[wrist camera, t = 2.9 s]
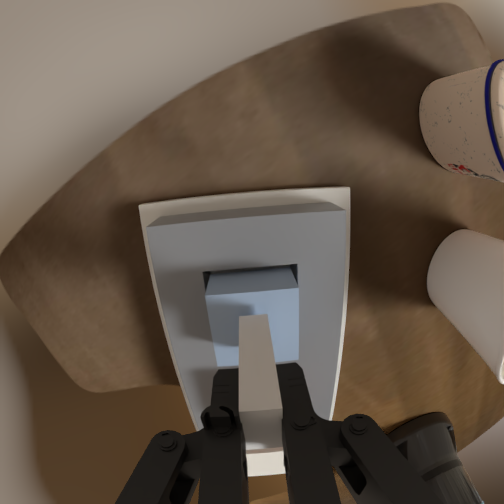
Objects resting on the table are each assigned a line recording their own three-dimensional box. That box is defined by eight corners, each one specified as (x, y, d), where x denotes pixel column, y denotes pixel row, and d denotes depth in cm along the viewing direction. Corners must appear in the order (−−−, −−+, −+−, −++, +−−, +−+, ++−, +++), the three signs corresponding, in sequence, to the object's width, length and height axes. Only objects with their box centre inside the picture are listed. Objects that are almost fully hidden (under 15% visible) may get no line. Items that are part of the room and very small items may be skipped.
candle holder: (476, 305, 24) (542, 362, 13) (411, 321, 24) (479, 402, 13) (492, 219, 21) (578, 257, 10) (426, 221, 21) (531, 272, 10)
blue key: (291, 333, 20) (298, 359, 17) (220, 339, 20) (217, 366, 17) (290, 267, 18) (298, 287, 15) (210, 274, 18) (204, 295, 15)
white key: (290, 450, 25) (293, 472, 22) (242, 454, 24) (243, 476, 22) (290, 425, 23) (295, 449, 20) (237, 429, 23) (237, 454, 20)
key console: (325, 439, 29) (331, 464, 26) (206, 450, 29) (204, 475, 25) (346, 186, 20) (368, 192, 16) (142, 203, 20) (121, 213, 16)
